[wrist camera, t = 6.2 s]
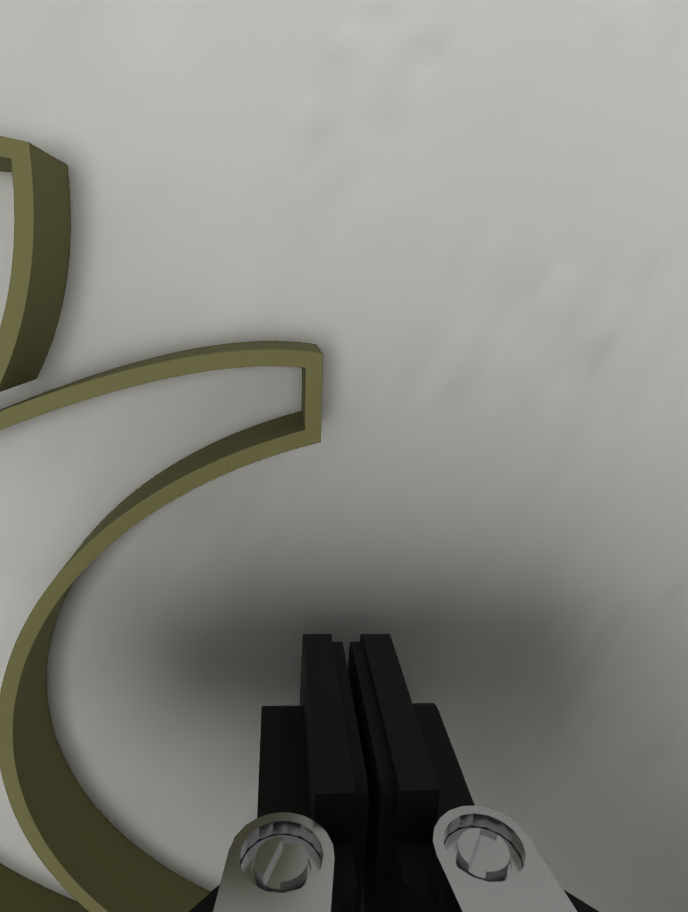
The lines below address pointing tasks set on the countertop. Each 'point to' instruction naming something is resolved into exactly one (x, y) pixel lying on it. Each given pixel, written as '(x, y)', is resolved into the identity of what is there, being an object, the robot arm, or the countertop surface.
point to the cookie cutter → (24, 685)
